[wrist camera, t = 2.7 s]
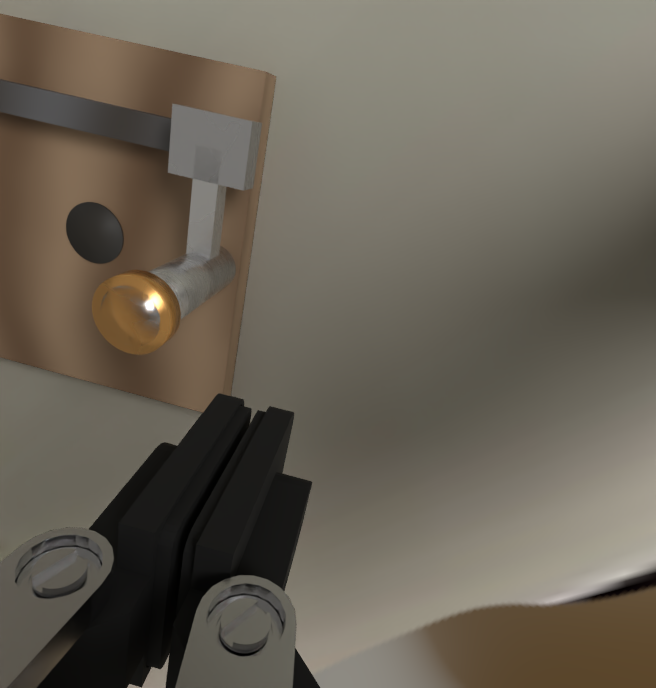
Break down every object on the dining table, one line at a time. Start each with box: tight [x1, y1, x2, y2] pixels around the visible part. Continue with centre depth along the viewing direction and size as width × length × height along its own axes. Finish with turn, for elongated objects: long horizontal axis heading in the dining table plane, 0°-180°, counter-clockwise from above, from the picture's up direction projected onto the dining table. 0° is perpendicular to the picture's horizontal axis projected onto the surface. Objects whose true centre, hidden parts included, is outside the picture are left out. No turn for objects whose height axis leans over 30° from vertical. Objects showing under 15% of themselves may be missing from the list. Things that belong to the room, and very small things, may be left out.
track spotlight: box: [92, 104, 262, 355], centre depth 18 cm, size 3×8×7 cm, turn 168°
